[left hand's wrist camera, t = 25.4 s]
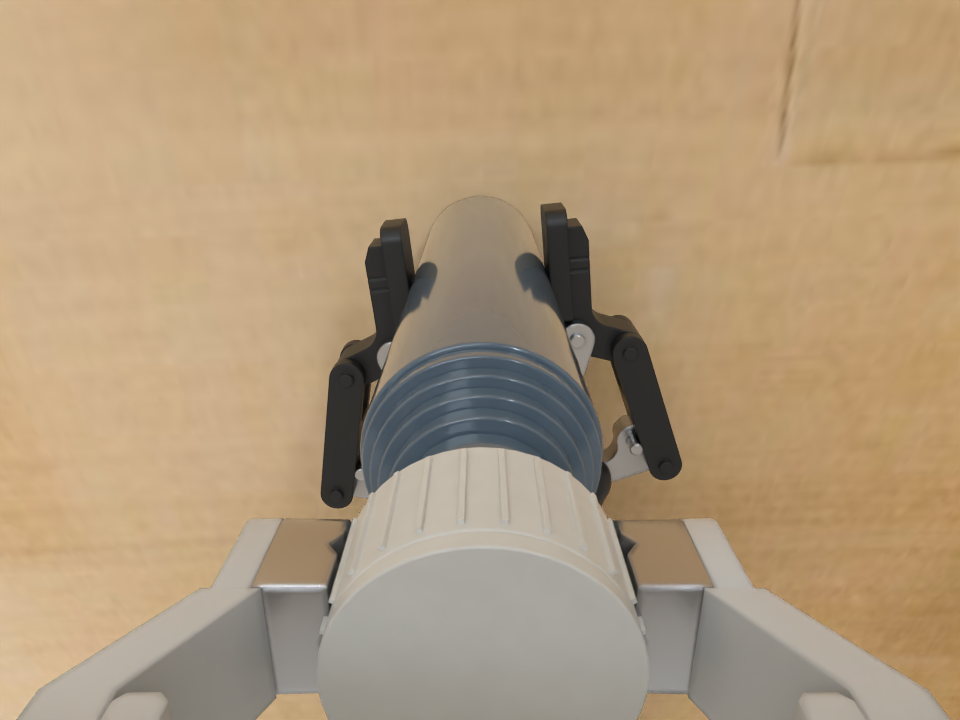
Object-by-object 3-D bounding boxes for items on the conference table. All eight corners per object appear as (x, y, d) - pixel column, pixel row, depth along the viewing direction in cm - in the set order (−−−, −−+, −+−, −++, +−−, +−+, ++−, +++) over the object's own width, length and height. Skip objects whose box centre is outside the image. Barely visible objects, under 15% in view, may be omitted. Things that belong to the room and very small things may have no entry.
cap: (530, 701, 11) (542, 840, 9) (302, 605, 11) (257, 734, 9) (672, 517, 10) (724, 632, 8) (422, 393, 9) (405, 483, 7)
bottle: (541, 292, 31) (678, 749, 10) (438, 309, 31) (348, 790, 10) (526, 187, 29) (652, 456, 8) (417, 206, 29) (252, 516, 8)
